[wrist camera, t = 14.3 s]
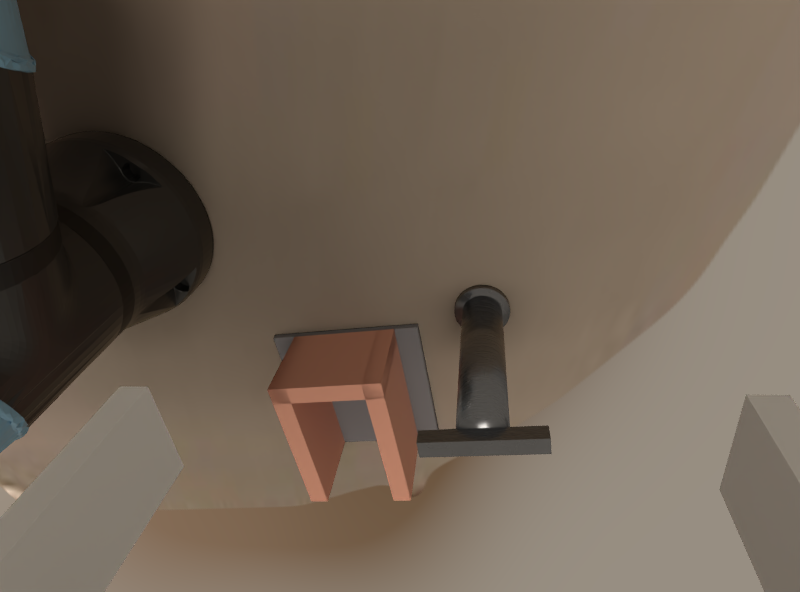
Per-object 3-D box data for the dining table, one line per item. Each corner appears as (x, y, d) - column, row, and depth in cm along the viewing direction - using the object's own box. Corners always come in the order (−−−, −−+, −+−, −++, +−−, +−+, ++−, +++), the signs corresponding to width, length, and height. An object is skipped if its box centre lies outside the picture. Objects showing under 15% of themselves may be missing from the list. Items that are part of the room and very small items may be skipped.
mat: (313, 439, 54) (311, 442, 53) (275, 335, 47) (273, 338, 47) (439, 434, 51) (439, 438, 51) (417, 323, 45) (417, 327, 44)
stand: (439, 333, 45) (423, 475, 32) (431, 289, 43) (411, 422, 30) (531, 327, 43) (552, 473, 31) (528, 280, 41) (549, 417, 29)
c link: (330, 442, 53) (311, 501, 47) (294, 336, 47) (267, 389, 41) (418, 439, 51) (410, 500, 45) (393, 328, 45) (380, 383, 39)
